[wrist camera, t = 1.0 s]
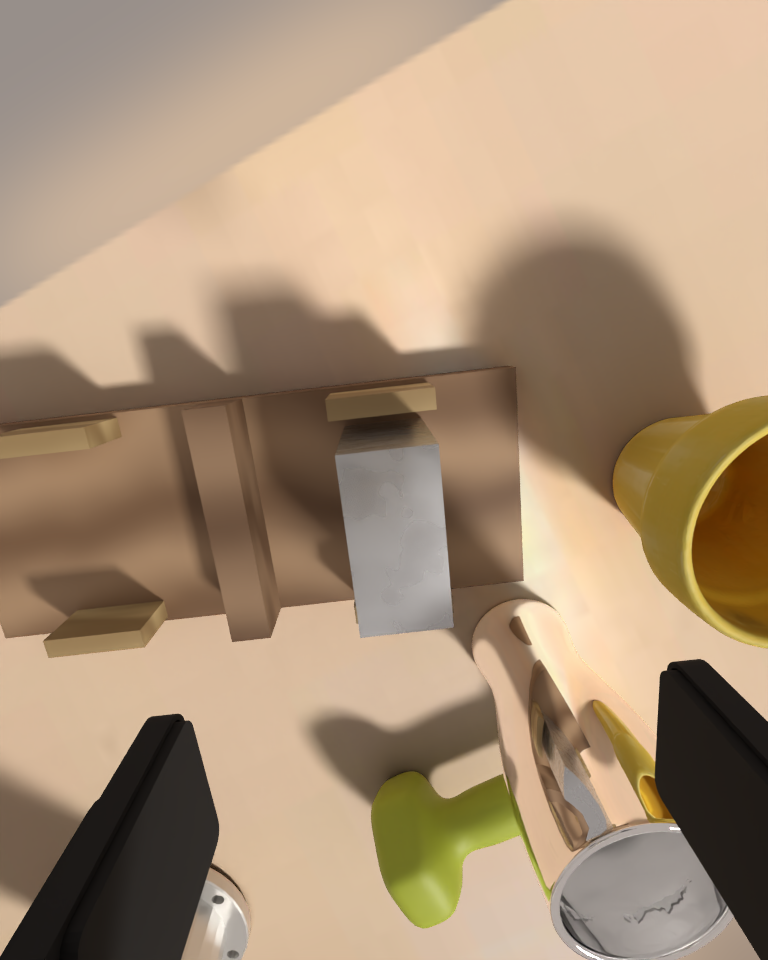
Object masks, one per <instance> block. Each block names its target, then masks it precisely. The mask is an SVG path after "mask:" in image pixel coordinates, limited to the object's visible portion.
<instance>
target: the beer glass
mask: <svg viewBox="0 0 768 960" xmlns="http://www.w3.org/2000/svg"><path fill="white" fill-rule="evenodd" d="M472 654H473V658H474V660H475V663H476V665H477V666H478V668H479V670H480V671H481V673H482V675H483V676H484V678H485V679H486V681H487V682H488V684H489V686H490V688H491V690H492V693H493V697H494V701H495V709H496V718H497V729H498V739H499V748H500V756H501V762H502V768H503V775H504V781H505V785H506V789H507V793H508V797H509V800H510V804H511V808H512V812H513V815H514V818H515V821H516V824H517V827H518V830H519V833H520V836H521V839H522V842H523V845H524V847H525V850H526V853H527V855H528V858H529V861H530V863H531V866H532V868H533V871H534V874H535V876H536V879H537V881H538V884H539V886H540V889H541V891H542V894H543V896H544V899H545V901H546V904H547V907H548V909H549V912H550V916H551V920H552V923H553V926H554V928H555V930H556V932H557V934H558V935H559V937H560V938H561V939H562V941H563V942H564V943H565V944H566V945H567V946H568V947H569V948H570V949H572V950H573V951H574V952H576V953H577V954H579V955H580V956H582V957H584V958H586V959H588V960H677V959H680V958H682V957H685V956H687V955H689V954H691V953H693V952H695V951H697V950H699V949H700V948H702V947H703V946H705V945H706V944H708V943H709V942H710V941H712V940H713V939H714V938H716V937H717V936H718V935H719V934H720V933H721V932H722V931H723V930H724V929H725V927H727V925H728V924H729V923H730V921H731V920H732V919H733V917H734V916H733V914H732V913H731V911H730V909H729V908H728V906H727V905H726V903H725V901H724V900H723V898H722V897H721V895H720V893H719V892H718V890H717V888H716V887H715V885H714V884H713V882H712V880H711V879H710V877H709V876H708V874H707V872H706V871H705V869H704V867H703V866H702V864H701V863H700V861H699V859H698V858H697V856H696V855H695V853H694V851H693V850H692V848H691V846H690V845H689V843H688V842H687V840H686V838H685V837H684V835H683V834H682V832H681V830H680V829H679V827H678V825H677V824H676V822H675V821H674V819H673V817H672V816H671V814H670V813H669V811H668V809H667V808H666V806H665V804H664V803H663V801H662V799H661V798H660V796H659V793H658V791H657V788H656V784H655V758H656V740H657V736H656V735H655V734H654V732H653V731H652V730H651V728H650V727H649V726H648V725H647V723H646V722H645V721H644V720H643V719H642V718H641V717H640V716H639V715H638V714H637V713H636V712H635V711H634V709H633V708H632V707H631V706H630V705H629V704H628V703H627V702H626V701H625V700H624V699H623V698H622V697H621V696H620V695H619V694H618V693H617V692H616V691H615V690H613V689H612V688H611V687H610V686H609V685H608V684H607V683H606V682H605V681H604V680H603V679H602V678H601V677H600V676H599V675H597V674H596V673H595V672H594V671H593V670H592V669H591V668H590V667H589V666H588V665H587V664H586V663H585V662H584V661H583V660H582V658H581V657H580V656H579V654H578V653H577V651H576V649H575V647H574V645H573V642H572V639H571V636H570V633H569V630H568V628H567V625H566V623H565V622H564V620H563V618H562V617H561V616H560V614H559V613H558V612H557V611H556V610H554V609H553V608H552V607H550V606H549V605H547V604H545V603H543V602H540V601H536V600H531V599H516V600H511V601H507V602H504V603H502V604H499V605H497V606H496V607H494V608H492V609H491V610H490V611H488V612H487V613H486V614H485V615H484V616H483V617H482V618H481V620H480V621H479V623H478V624H477V626H476V628H475V630H474V633H473V637H472Z"/></svg>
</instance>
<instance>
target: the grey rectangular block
mask: <svg viewBox="0 0 768 960" xmlns="http://www.w3.org/2000/svg"><path fill="white" fill-rule="evenodd" d="M335 460H336V468H337V475H338V482H339V489H340V496H341V503H342V510H343V517H344V525H345V532H346V539H347V546H348V553H349V560H350V567H351V574H352V582H353V589H354V596H355V603H356V610H357V617H358V624H359V631H360V638H363V637H372V636H381V635H390V634H399V633H409V632H418V631H427V630H436V629H445V628H454V624H453V611H452V599H451V587H450V575H449V563H448V550H447V538H446V526H445V514H444V501H443V489H442V477H441V465H440V452H439V443H438V442H437V440H436V439H435V437H434V436H433V434H432V433H431V431H430V430H429V428H428V427H427V425H426V424H425V422H424V421H423V420H422V418H412V419H403V420H394V421H386V422H377V423H368V424H359V425H350V426H345V427H344V430H343V432H342V435H341V438H340V441H339V444H338V447H337V450H336V453H335Z"/></svg>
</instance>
